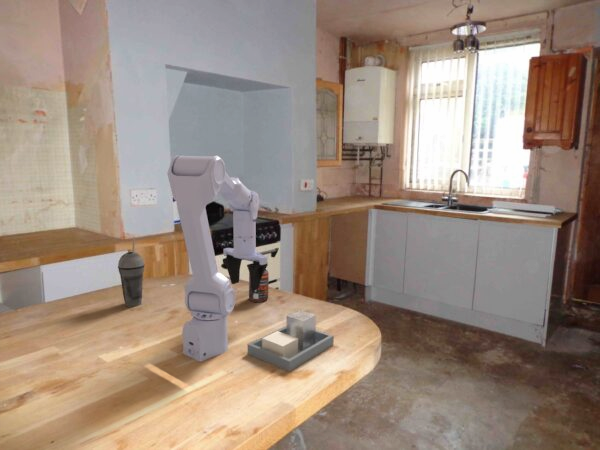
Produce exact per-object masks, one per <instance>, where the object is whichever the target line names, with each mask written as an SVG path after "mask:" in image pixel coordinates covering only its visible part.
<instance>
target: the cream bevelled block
mask: <svg viewBox="0 0 600 450" xmlns="http://www.w3.org/2000/svg"><path fill="white" fill-rule="evenodd" d="M275 331H276V332H275ZM275 331H273V332H274V333H272V332H271V333H272V334H270V333H269V334H270V335H268V334H267V335H268V336H266V335H265V336H266V337H264V336H263V337H264V338H262V337H261V338H262V348H263V349H266V350H268V351H271V352H273V353H276V354H278V355H281V356H283V357H286V358H288V359H290V358H291V357H293V356H295V355H297V354H298V338H296V337H293V336H290V335H287V334H285V333H282V332H279V331H277V330H275Z"/></svg>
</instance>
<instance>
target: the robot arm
mask: <svg viewBox="0 0 600 450" xmlns="http://www.w3.org/2000/svg"><path fill="white" fill-rule="evenodd" d="M225 163H226V162H225V161H224V160H223V159H222V158H221V157H220V156H219V155H214V156H210V155H209V156H206V155H205V156H204V155H203V156H202V155H201V156H199V155H197V156H196V155H181V154H180V155H179V154H177V155H175V156H173V158H172V159H171V161H170V164H169V167H168V170H167V172H166V173H167V177H168V182H169V185H170V191H171V195H172V198H173V200H174V201H175V202H176V208H177V212H178V213H177V214H178V216H179V220H180V221H179V222H180V225H181V230H182V235H183V237H184V242H185V247H186V250H187V254H188V258H189V259H188V260H189V263H190V268H191V273H192V276H190V277H189V278H188V280H187V281H186V283H185V285H184V288H183V289H184V294H185V295H184V304H185V307H186V309H187V310H188V311H189V312H190V316H191V317H192V318H191V319H190V320H188V321H186V322H185V323H184V324H183V327H182V352H183V353H182V354H184V356H187V357H189V358H191V359H194V360H196V361H197V362H203V361H206V360H208V359H210V358H213V357H216V356H220V355H222V354H225V353H226V352H227V350H228V316H229V315H230V314H231V313H232V312H233V311H234V307H235V304H236V292H235V290H234V288H233V287H232V285H235V284H238V283H240V276H241V275H240V271H241V270H240V269H241V265H242V261H243V260H245V261H248V262H250V263H248V264H247V265H246V267H247V270H248V274H249V273H250V279H251V289H252V290H256V289H259V285H260V281H261V278H262V275H263V273H264V271H265V269H266V270H267V267H268V265H269V263H268V256H267V255H265V254H262V253H260V252H258V250H257V249H256V247H257V246H256V244H257V242H256V241H257V240H256V238H257V235H256V232H257V231H256V229H257V228H256V225H257V224H256V219H258V210H259V206H260V197H259V194H258V192H256V191H255V190H250V189H248V187H247V186H246V185H244V184H243V183H242V181H241V180H240V178H239V177H238V176H231V177H230V176H229V175H228V173H227V172H226V165H225ZM218 193H219V196H220V197H221V198H222V199H223V200H224V201H226V202H227V204H228V207H229V210H230V212H233V213H232V214H233V215H232V220H233V221H232V223H233V227H232V228H233V247H226V248H223V256H225V258H222V263H223V265H224V266H225V267H226V270H227V272H228V276H229V278H228V277H226V276H225V275H223V274H222V273H221V272H220V271H219V268H218V265H217V260H216V259H217V258H216V254H215V249H214V244H213V239H212V234H211V230H210V224H209V220H208V214H207V209H206V207H207V205H209V204H211V203H213V202H215V200H216V197H217V196H218ZM251 262H252V263H251Z"/></svg>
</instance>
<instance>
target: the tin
mask: <svg viewBox="0 0 600 450" xmlns="http://www.w3.org/2000/svg"><path fill="white" fill-rule="evenodd" d="M316 323H317V315H316V314H315V313H310V312H307V311H305V310H304V311H303V310H300V309H299V310H297V311H295V312H293V313H292V312H291V313H290V314H288V315H286V325H285V326H286V334H287V335H290V336H293V337H296V338H298V349H299V350H302V351H303V350H305V349H307V348H308V347H310V346H312V345H313V344H315V333H316V330H317V329H316V328H317V327H316V326H317V325H316Z"/></svg>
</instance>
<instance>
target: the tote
mask: <svg viewBox="0 0 600 450" xmlns="http://www.w3.org/2000/svg"><path fill="white" fill-rule="evenodd" d="M286 326H287V325H285V326H283V327H281V328H279V329H277V330H274V331H272V332H271V333H269V334H266V335H265V336H261V337H260V338H258V339H256V340H254V341H251V342H250V343H248V344H247V354H248V355H249V356H252V357H254V358H256V359H259V360H261V361H263V362H266V363H268V364H271V365H272V366H274V367H277V368H279V369H282V370H284V371H286V372H289V373H290V372H291V371H293V370H296V369H297V368H299V367H300V366H301V365H303V364H305V363H306V362H308V361H310V360H311V359H313V358H315V357H316V356H318V355H320V354H321V353H322V352H324V351H326V350H328V349H329V348H330V347H332V346H334V341H335V340H334V335H333V334H330V333H326V332H323V331H321V330H318V329H316V333H315V344H313V345H312V346H310V347H308V348H307V349H305V350H303V351H302V350H299V349H298V354H297V355H295V356H293V357H291V358H290V359H288V358H286V357H283V356H281V355H278V354H276V353H273V352H271V351H268V350H266V349H263V348H262V338H264V337H266V336H268V335H270V334H272V333H274V332H276V331H279V332H282V333H285V334H286Z"/></svg>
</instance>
